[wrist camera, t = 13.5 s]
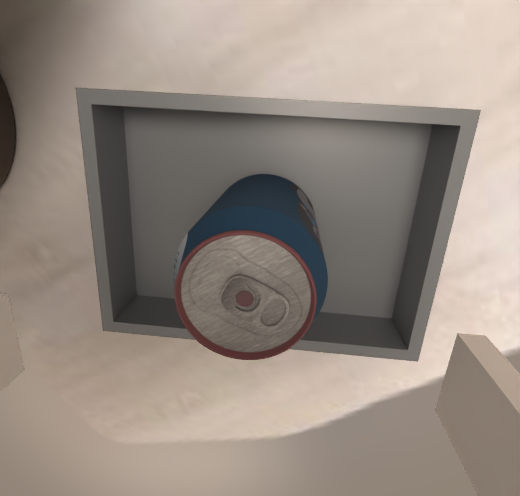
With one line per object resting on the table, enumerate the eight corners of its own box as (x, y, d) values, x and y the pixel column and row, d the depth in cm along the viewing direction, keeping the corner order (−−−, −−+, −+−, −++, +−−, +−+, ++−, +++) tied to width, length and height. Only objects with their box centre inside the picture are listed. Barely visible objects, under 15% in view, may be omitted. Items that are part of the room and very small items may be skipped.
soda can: (201, 236, 26) (133, 325, 15) (245, 152, 24) (203, 181, 13) (283, 280, 27) (276, 397, 16) (333, 202, 25) (368, 273, 13)
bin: (132, 297, 30) (102, 330, 25) (117, 93, 24) (75, 87, 20) (397, 321, 28) (417, 361, 24) (442, 111, 23) (480, 110, 18)
